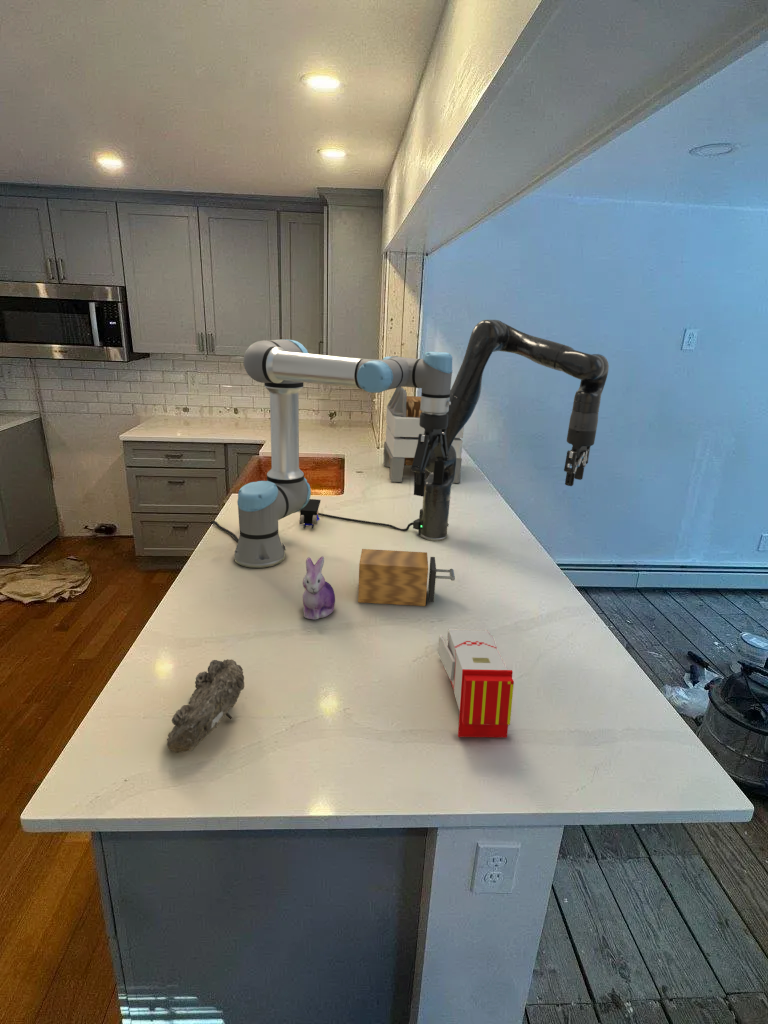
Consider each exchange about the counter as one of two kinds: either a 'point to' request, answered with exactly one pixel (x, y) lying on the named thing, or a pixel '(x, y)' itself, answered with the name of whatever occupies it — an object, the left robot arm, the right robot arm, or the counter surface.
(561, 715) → the counter surface
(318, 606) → the figurine
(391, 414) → the transformer
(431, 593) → the drawer
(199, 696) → the fossil
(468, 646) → the toy
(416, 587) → the zigzag wood grain block
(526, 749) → the counter surface
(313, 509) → the figurine character
